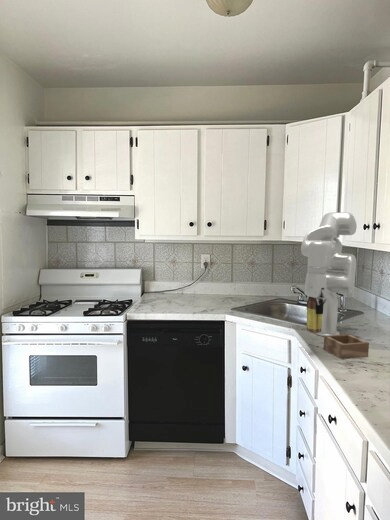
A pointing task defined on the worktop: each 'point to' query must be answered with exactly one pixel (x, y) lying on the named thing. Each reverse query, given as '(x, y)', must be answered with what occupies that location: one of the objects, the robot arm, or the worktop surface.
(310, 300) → the sauce bottle
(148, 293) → the worktop surface
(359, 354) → the walnut sleeve
